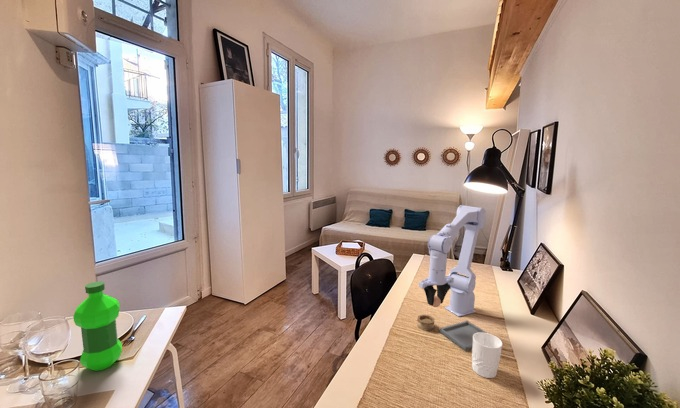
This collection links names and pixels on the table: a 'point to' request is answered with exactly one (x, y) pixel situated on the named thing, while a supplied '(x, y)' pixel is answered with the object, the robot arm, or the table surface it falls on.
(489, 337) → the white cup
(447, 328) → the tray
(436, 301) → the ball
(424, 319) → the egg cup
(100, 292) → the plastic bottle
